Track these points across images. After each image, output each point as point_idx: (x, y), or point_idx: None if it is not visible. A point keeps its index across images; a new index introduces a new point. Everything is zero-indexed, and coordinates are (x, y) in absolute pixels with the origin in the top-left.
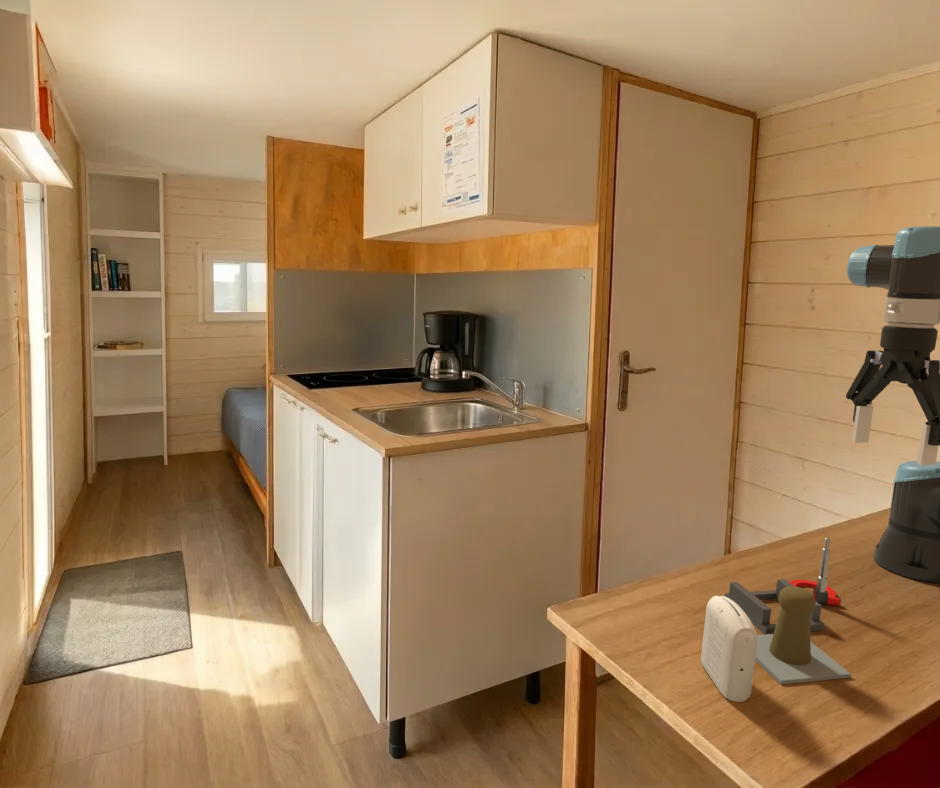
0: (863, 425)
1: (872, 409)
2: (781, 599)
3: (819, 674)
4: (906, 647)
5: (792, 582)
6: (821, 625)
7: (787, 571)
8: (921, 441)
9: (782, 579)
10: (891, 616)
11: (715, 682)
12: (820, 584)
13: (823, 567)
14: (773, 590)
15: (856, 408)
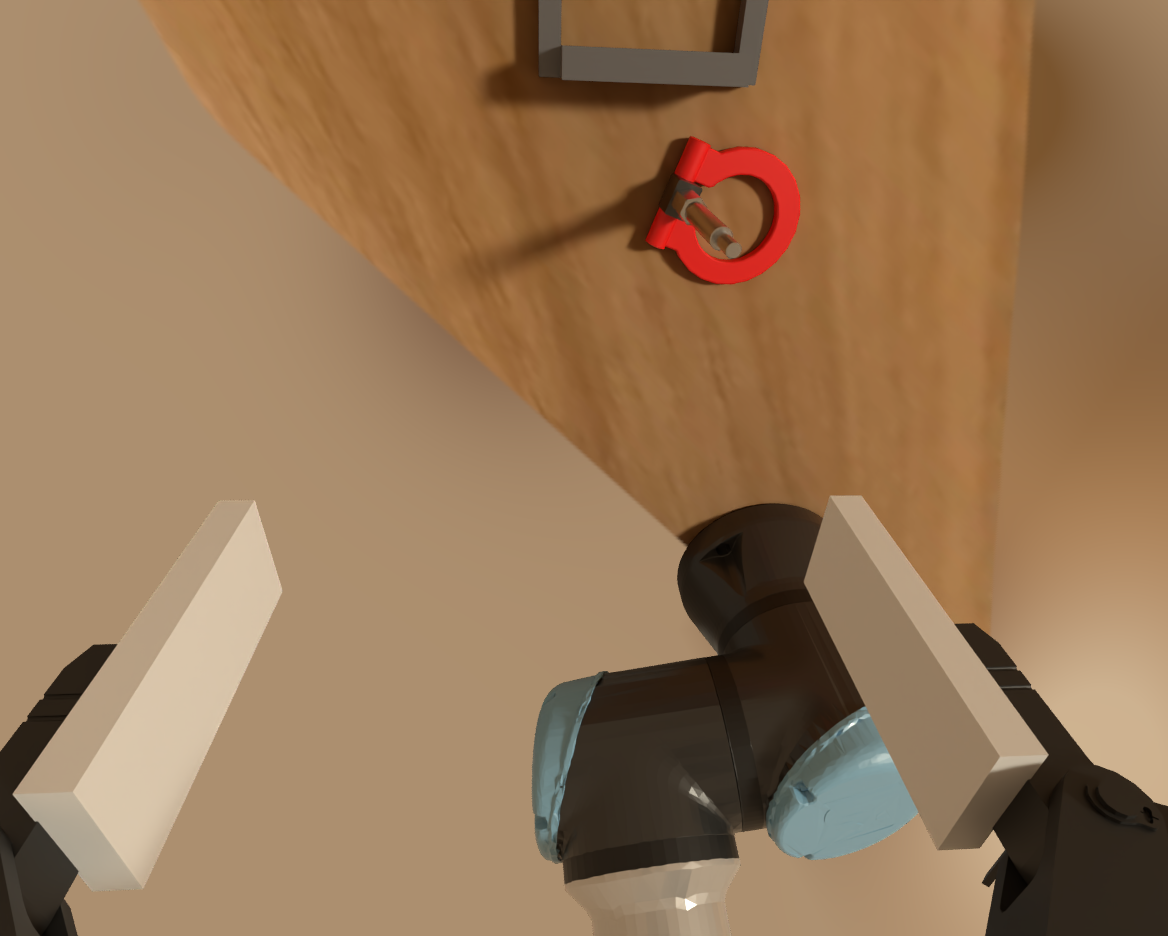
0: (873, 636)
1: (924, 816)
2: None
3: None
4: (436, 254)
5: (788, 188)
6: (539, 65)
7: (860, 243)
8: (162, 629)
9: (747, 75)
10: (575, 339)
11: None
12: (683, 194)
13: (698, 213)
14: (756, 59)
15: (1027, 727)
